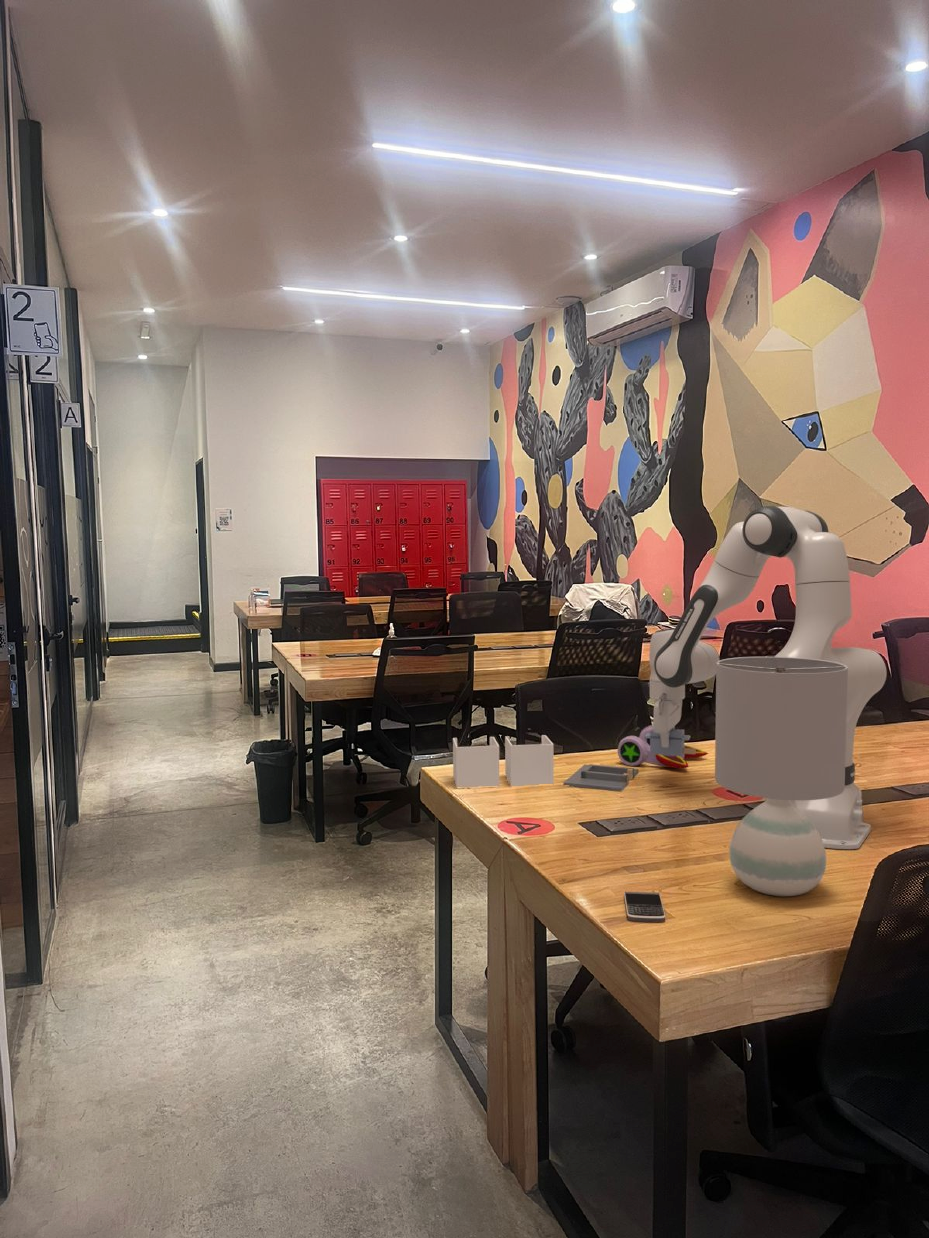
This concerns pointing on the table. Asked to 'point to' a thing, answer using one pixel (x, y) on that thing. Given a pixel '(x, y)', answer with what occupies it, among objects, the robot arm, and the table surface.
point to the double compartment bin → (520, 764)
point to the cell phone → (644, 907)
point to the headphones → (639, 751)
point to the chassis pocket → (602, 777)
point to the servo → (675, 743)
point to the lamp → (780, 762)
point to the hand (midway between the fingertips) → (667, 744)
